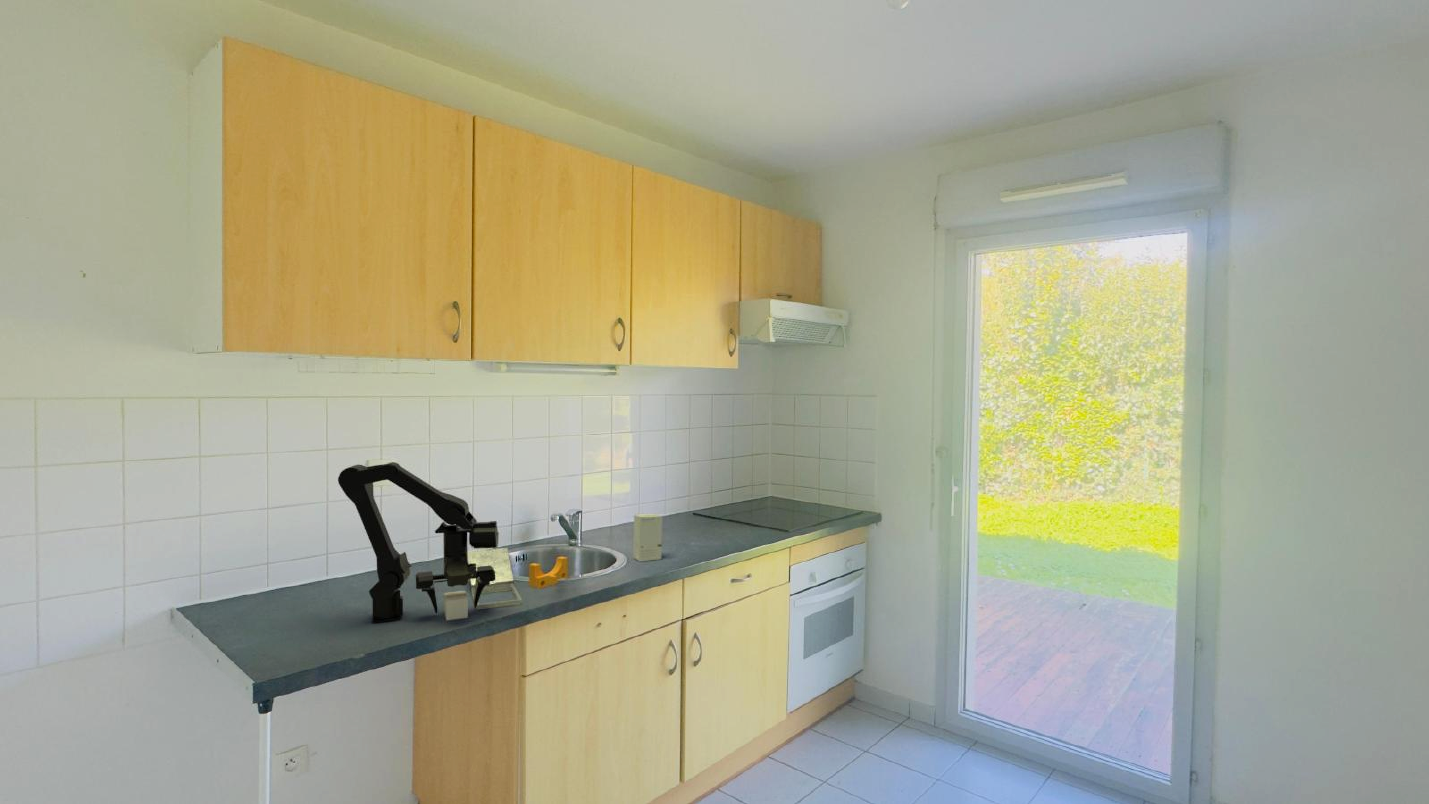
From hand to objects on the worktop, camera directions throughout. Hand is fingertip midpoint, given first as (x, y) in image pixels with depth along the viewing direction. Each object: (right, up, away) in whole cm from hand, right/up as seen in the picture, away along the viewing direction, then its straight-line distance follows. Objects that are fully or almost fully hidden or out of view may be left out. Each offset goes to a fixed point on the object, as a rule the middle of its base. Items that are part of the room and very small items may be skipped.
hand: (455, 610), depth 179 cm
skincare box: (+43, 0, +57) cm, 72 cm away
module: (0, -1, 0) cm, 1 cm away
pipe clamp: (+18, -1, +29) cm, 33 cm away
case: (+4, 0, +19) cm, 19 cm away
